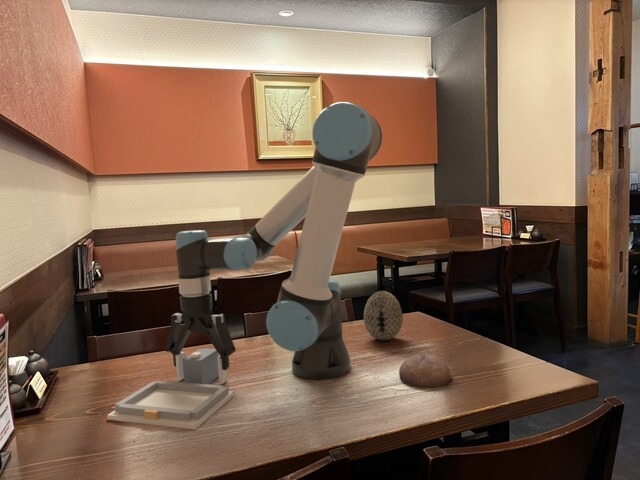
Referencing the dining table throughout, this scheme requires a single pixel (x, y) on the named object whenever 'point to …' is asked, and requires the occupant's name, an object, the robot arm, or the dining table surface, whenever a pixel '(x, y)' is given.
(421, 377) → the brown dome
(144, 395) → the board
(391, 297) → the decorative egg
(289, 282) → the robot arm
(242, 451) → the dining table surface
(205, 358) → the block
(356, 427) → the dining table surface
